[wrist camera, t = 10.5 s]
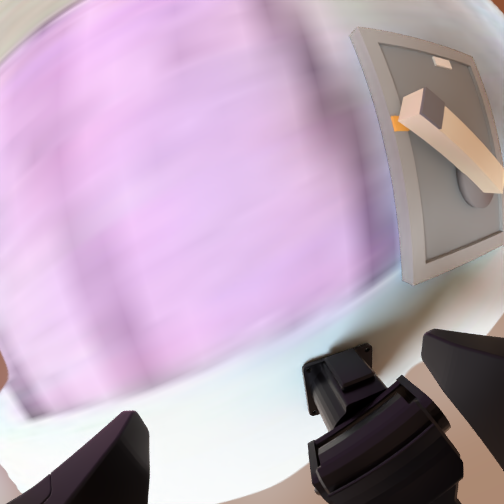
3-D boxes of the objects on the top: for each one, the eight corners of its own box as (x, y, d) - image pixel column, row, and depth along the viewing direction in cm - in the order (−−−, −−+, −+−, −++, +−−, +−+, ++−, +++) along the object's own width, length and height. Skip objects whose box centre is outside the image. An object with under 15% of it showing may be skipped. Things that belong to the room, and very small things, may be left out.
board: (498, 239, 22) (510, 242, 20) (402, 280, 21) (415, 286, 19) (463, 60, 18) (473, 56, 16) (349, 35, 17) (358, 25, 15)
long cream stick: (491, 165, 19) (517, 165, 15) (482, 217, 20) (509, 221, 16) (400, 84, 16) (428, 69, 13) (386, 143, 17) (417, 134, 14)
